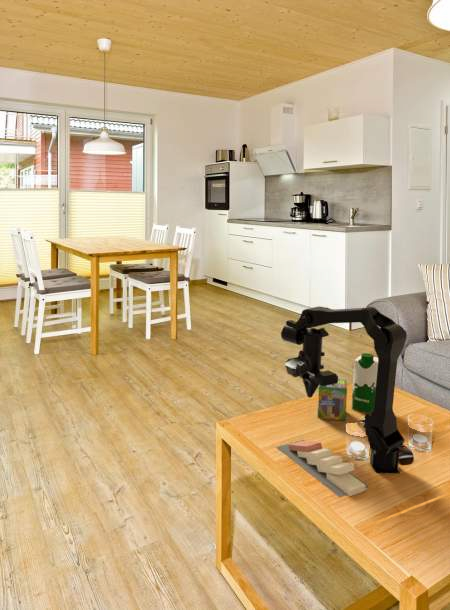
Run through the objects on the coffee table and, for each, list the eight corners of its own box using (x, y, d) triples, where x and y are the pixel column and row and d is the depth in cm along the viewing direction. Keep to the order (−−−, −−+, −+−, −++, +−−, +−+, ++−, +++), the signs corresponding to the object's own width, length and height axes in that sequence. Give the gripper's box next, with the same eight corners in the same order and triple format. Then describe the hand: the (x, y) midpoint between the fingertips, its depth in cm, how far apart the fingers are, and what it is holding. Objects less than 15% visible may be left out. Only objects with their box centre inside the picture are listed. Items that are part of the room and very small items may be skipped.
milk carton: (348, 409, 176) (352, 354, 172) (357, 400, 183) (360, 348, 179) (373, 415, 171) (378, 359, 167) (381, 406, 179) (385, 352, 174)
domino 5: (326, 472, 132) (350, 490, 124) (341, 468, 134) (365, 485, 126) (326, 478, 132) (349, 496, 124) (341, 473, 134) (365, 490, 127)
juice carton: (345, 421, 166) (348, 379, 163) (317, 419, 168) (319, 377, 165) (344, 410, 175) (347, 369, 172) (317, 408, 177) (320, 367, 174)
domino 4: (316, 465, 135) (338, 468, 127) (331, 460, 138) (353, 463, 130) (317, 471, 135) (339, 474, 127) (332, 466, 137) (354, 469, 130)
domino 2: (297, 451, 143) (316, 453, 135) (311, 447, 145) (330, 449, 137) (298, 456, 143) (317, 459, 135) (312, 452, 145) (332, 455, 137)
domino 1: (288, 444, 147) (306, 446, 139) (302, 440, 149) (321, 442, 141) (289, 450, 146) (307, 452, 138) (303, 446, 149) (322, 448, 141)
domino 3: (306, 458, 139) (326, 460, 131) (320, 454, 142) (341, 456, 134) (307, 464, 139) (327, 466, 131) (322, 459, 141) (342, 462, 133)
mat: (275, 448, 148) (275, 447, 148) (303, 441, 153) (303, 439, 153) (339, 498, 124) (339, 496, 124) (370, 487, 129) (370, 486, 129)
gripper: (272, 343, 156) (270, 391, 160) (309, 361, 140) (307, 413, 144) (301, 339, 161) (299, 385, 165) (340, 355, 145) (337, 406, 149)
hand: (309, 397), depth 155 cm, fingers closed
